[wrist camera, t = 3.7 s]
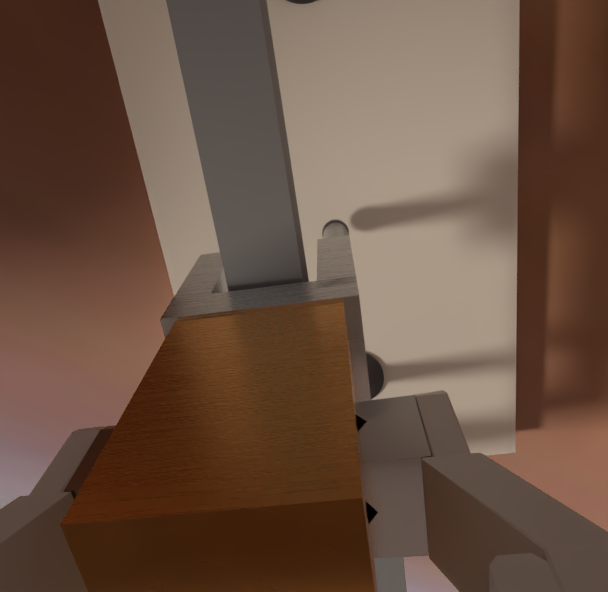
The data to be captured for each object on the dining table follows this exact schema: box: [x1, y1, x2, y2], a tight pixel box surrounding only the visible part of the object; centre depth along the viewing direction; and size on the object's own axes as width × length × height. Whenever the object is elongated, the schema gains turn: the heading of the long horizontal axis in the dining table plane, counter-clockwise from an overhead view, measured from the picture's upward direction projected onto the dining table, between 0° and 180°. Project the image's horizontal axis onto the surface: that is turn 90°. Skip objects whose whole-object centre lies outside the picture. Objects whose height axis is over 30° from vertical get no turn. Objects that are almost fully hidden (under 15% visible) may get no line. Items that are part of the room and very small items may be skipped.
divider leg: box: [60, 219, 378, 592], centre depth 13 cm, size 4×4×16 cm
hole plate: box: [98, 0, 520, 592], centre depth 16 cm, size 14×28×12 cm, turn 8°
